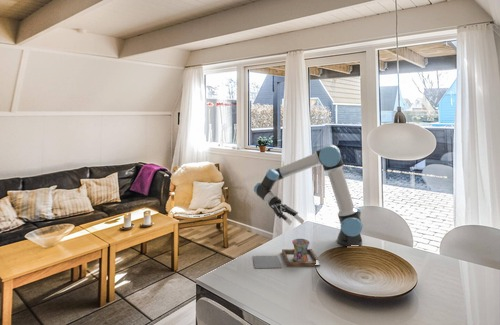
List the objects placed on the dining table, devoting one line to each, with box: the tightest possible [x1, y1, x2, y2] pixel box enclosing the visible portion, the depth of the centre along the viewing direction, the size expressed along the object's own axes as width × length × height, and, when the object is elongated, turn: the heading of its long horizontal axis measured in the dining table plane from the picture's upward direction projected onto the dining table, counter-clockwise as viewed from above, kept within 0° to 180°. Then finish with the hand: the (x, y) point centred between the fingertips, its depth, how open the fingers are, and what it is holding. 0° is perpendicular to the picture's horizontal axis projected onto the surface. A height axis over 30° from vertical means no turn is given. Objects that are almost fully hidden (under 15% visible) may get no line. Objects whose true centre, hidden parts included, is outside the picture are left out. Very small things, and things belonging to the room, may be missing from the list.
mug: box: [292, 238, 310, 262], centre depth 162 cm, size 12×9×11 cm
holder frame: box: [281, 248, 319, 268], centre depth 163 cm, size 17×17×2 cm
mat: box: [252, 255, 282, 270], centre depth 159 cm, size 14×14×1 cm
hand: (297, 222), depth 167 cm, fingers open, 13 cm apart
